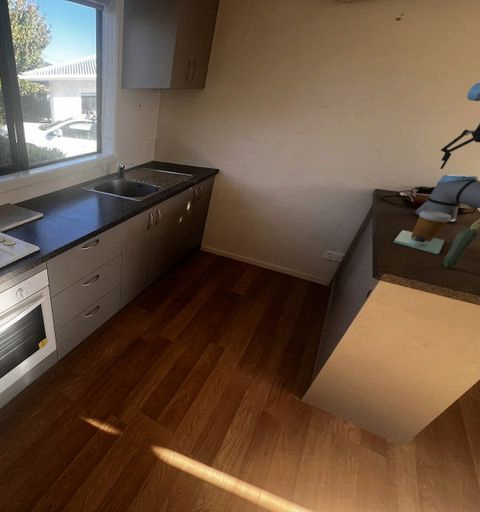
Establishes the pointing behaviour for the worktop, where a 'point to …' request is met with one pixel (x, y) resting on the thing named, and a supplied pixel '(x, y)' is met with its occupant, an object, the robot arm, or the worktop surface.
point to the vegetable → (461, 244)
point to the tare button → (420, 239)
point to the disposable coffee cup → (430, 224)
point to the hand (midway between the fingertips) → (463, 171)
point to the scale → (407, 240)
